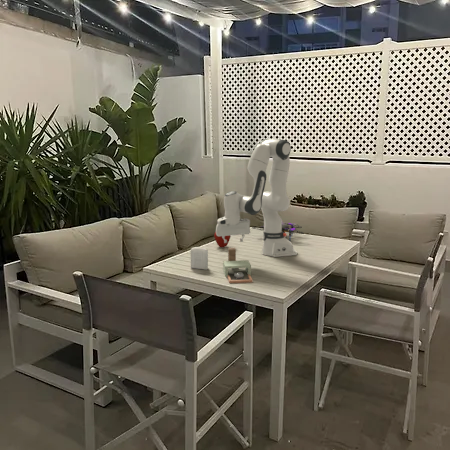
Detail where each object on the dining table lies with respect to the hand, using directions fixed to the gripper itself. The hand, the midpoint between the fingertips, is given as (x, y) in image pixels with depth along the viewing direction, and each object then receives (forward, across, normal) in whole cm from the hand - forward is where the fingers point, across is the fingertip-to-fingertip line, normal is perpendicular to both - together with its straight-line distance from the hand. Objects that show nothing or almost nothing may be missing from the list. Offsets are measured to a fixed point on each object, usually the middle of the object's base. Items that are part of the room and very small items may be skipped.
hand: (233, 242), depth 268 cm
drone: (+16, -42, -58) cm, 74 cm away
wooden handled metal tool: (+12, +1, +6) cm, 13 cm away
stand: (+12, +2, +22) cm, 25 cm away
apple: (+13, +4, -36) cm, 39 cm away
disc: (+12, +2, +30) cm, 32 cm away
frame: (+11, +2, +33) cm, 35 cm away
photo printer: (+11, +22, +10) cm, 26 cm away
